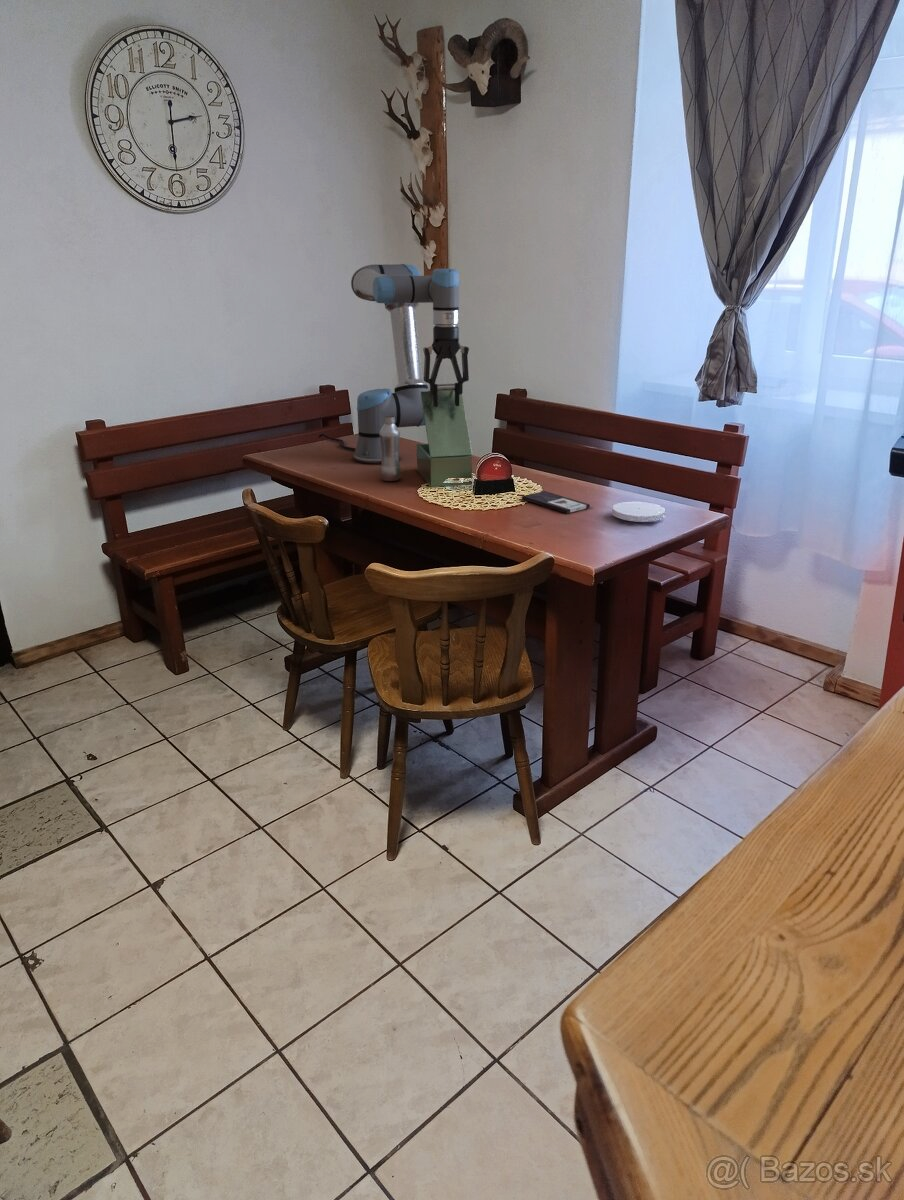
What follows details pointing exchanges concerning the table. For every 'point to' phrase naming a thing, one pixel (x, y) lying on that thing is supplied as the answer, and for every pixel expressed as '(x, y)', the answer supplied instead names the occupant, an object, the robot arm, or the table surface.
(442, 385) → the bin lid
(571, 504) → the chocolate bar
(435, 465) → the green open box
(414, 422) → the robot arm
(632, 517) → the plastic lid
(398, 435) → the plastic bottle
